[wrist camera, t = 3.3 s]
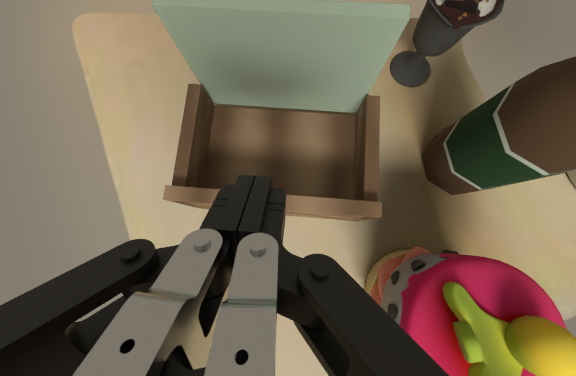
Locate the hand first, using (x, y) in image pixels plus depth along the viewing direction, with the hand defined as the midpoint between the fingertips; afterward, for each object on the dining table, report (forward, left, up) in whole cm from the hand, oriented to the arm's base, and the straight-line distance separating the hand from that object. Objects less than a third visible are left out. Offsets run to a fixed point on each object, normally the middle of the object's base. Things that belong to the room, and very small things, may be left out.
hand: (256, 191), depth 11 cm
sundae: (-15, -19, -17) cm, 30 cm away
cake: (-15, +8, -17) cm, 24 cm away
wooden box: (0, -6, -17) cm, 18 cm away
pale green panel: (0, -12, -14) cm, 18 cm away
